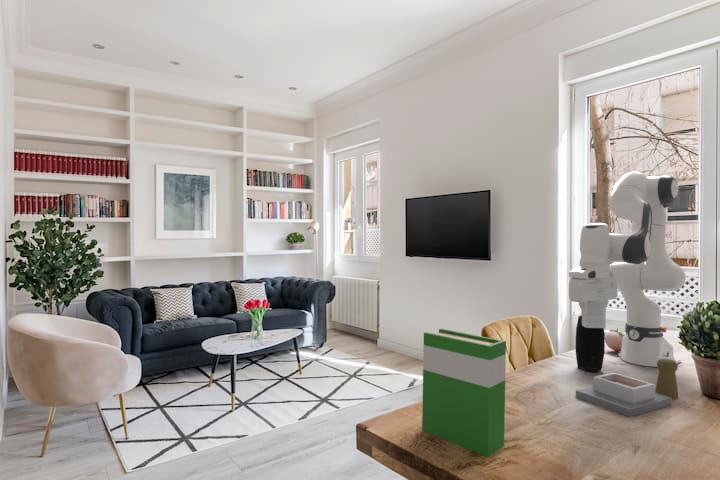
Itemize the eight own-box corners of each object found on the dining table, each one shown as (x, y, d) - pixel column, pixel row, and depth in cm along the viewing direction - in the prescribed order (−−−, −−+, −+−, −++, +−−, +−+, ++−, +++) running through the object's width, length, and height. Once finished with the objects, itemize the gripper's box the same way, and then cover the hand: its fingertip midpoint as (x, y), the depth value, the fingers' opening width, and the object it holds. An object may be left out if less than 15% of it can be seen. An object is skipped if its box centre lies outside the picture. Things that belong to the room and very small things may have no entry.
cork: (682, 399, 131) (683, 363, 131) (660, 398, 132) (660, 361, 132) (672, 392, 137) (673, 357, 137) (651, 391, 138) (651, 356, 138)
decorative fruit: (599, 350, 188) (599, 326, 187) (614, 349, 190) (614, 326, 190) (618, 356, 179) (618, 331, 178) (633, 354, 181) (634, 330, 181)
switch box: (617, 387, 141) (617, 368, 141) (671, 404, 127) (671, 384, 127) (575, 396, 132) (576, 377, 132) (629, 416, 118) (629, 394, 118)
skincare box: (599, 325, 146) (600, 290, 146) (605, 328, 142) (606, 291, 142) (580, 325, 147) (581, 289, 147) (586, 328, 143) (586, 291, 142)
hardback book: (422, 430, 108) (423, 332, 107) (439, 421, 113) (441, 328, 113) (488, 456, 95) (490, 346, 95) (504, 445, 101) (506, 341, 100)
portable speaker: (577, 364, 166) (578, 312, 165) (605, 369, 160) (607, 316, 160) (572, 370, 159) (574, 316, 158) (602, 375, 153) (603, 319, 153)
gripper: (605, 270, 152) (604, 310, 152) (565, 272, 142) (564, 314, 143) (623, 272, 146) (622, 313, 146) (583, 273, 137) (582, 318, 137)
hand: (593, 314), depth 144 cm, fingers closed on skincare box, 7 cm apart
